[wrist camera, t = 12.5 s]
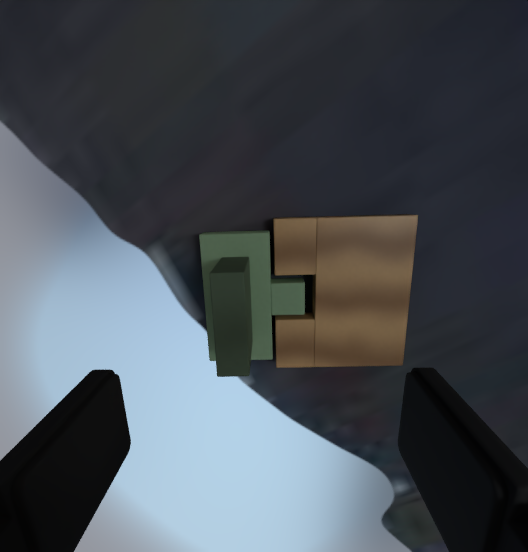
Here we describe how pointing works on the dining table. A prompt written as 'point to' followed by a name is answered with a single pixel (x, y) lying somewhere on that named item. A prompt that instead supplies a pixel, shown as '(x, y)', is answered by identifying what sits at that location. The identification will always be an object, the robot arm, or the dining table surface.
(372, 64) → the dining table surface
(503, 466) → the robot arm
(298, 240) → the notched brown wooden block
